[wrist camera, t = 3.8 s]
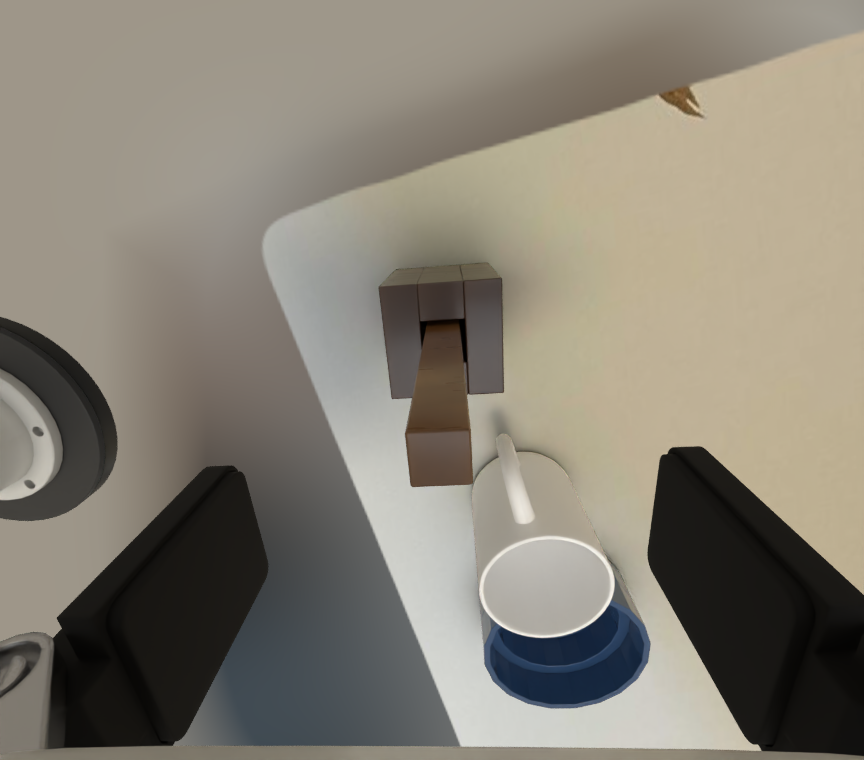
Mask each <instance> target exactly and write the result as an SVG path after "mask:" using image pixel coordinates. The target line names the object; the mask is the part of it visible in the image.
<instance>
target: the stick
mask: <svg viewBox="0 0 864 760" xmlns="http://www.w3.org/2000/svg"><path fill="white" fill-rule="evenodd" d="M405 438H406V447H407V456H408V465H409V474H410V483H411V486H412V487H423V486H447V485H470V484H472V483H473V468H472V447H471V428H470V419H469V409H468V400H467V391H466V381H465V372H464V363H463V353H462V344H461V334H460V325H459V319H452V320H437V321H427V326H426V331H425V336H424V341H423V346H422V351H421V356H420V361H419V366H418V371H417V376H416V381H415V386H414V391H413V396H412V401H411V406H410V411H409V416H408V421H407V426H406V431H405Z"/></svg>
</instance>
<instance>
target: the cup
mask: <svg viewBox="0 0 864 760" xmlns="http://www.w3.org/2000/svg"><path fill="white" fill-rule="evenodd" d="M496 446H497V451H498V456H499V457H498V458H496V459H494V460H493V461H491V462H490V463H489V464H487V465H486V466H485V467H484V468H483V469H482V471H481V472H480V473H479V475H478V476H477V478H476V480H475V483H474V486H473V490H472V514H473V526H474V538H475V550H476V563H477V575H478V587H479V596H480V600H481V603H482V605H483V607H484V609H485V611H486V612H487V613H488V615H489V616H490V617H491V618H492V619H493V620H494V621H495V622H496V623H497V624H499V625H500V626H502V627H503V628H505V629H507V630H509V631H511V632H514V633H517V634H520V635H523V636H528V637H536V638H550V637H558V636H563V635H567V634H570V633H573V632H576V631H578V630H581V629H583V628H585V627H586V626H588V625H590V624H591V623H592V622H594V621H595V620H596V619H597V618H599V617H600V616H601V615H602V613H603V612H604V611H605V610H606V608H607V607H608V605H609V603H610V601H611V599H612V596H613V592H614V586H615V581H614V574H613V571H612V568H611V566H610V564H609V562H608V559H607V557H606V555H605V553H604V551H603V549H602V547H601V544H600V542H599V540H598V538H597V536H596V534H595V532H594V530H593V527H592V525H591V523H590V521H589V519H588V517H587V515H586V512H585V510H584V508H583V506H582V504H581V502H580V500H579V497H578V495H577V493H576V491H575V489H574V487H573V485H572V483H571V481H570V479H569V477H568V475H567V474H566V472H565V471H564V470H563V469H562V467H561V466H560V465H558V464H557V463H556V462H555V461H553V460H552V459H550V458H548V457H546V456H544V455H541V454H538V453H533V452H516V451H515V448H514V445H513V442H512V440H511V438H510V436H508V435H507V434H500V435H498V437H497V438H496Z"/></svg>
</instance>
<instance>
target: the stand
mask: <svg viewBox="0 0 864 760" xmlns="http://www.w3.org/2000/svg"><path fill="white" fill-rule="evenodd" d="M379 295H380V303H381V312H382V320H383V329H384V337H385V346H386V354H387V362H388V371H389V379H390V388H391V396H392V399H402V398H412V396H413V391H414V386H415V381H416V376H417V371H418V366H419V361H420V356H421V351H422V346H423V341H424V336H425V331H426V326H427V321H437V320H452V319H462V327H460V334H461V344H462V353H463V363H464V372H465V381H466V391H467V395H468V393H469V394H470V395H471V394H489V393H503V392H504V367H503V306H502V278H501V277H500V276H499V275H498V274H497V272H496V271H495V270H494V269H493V268H492V267H491V266H490V265H489V263H476V264H463V265H460V266H459V265H449V266H435V267H425V268H424V267H421V268H408V269H396V270H395V271H394V272H393V273H392V274H391V275H390V276H389V277H388V278H387V279H386V280H385V281H384V282H383V283H382V284H381V285H380V286H379Z"/></svg>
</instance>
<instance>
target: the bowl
mask: <svg viewBox="0 0 864 760" xmlns="http://www.w3.org/2000/svg"><path fill="white" fill-rule="evenodd" d="M608 562H609V564H610V566H611V568H612V571H613V574H614V581H615V586H614V592H613V596H612V599H611V601H610V603H609V605H608V607H607V608H606V610H605V611H604V612H603V613H602V615H601V616H600V617H599V618H597V619H596V620H595V621H594V622H592V623H591V624H590V625H588V626H586V627H585V628H583V629H581V630H578V631H576V632H573V633H570V634H567V635H563V636H558V637H550V638H536V637H528V636H523V635H520V634H517V633H514V632H511V631H509V630H507V629H505V628H503V627H502V626H500V625H499V624H497V623H496V622H495V621H494V620H493V619H492V618H491V617H490V616H489V615H488V613H487V612H486V611H485V609H484V607H483V605H482V603H481V600H480V614H481V626H482V639H483V651H484V663H485V666H486V668H487V670H488V672H489V674H490V676H491V678H492V680H493V681H494V682H495V683H496V684H497V685H498V686H499V687H500V688H501V689H502V690H504V691H505V692H506V693H507V694H508V695H510V696H512V697H514V698H517V699H519V700H521V701H523V702H525V703H527V704H531V705H536V706H541V707H546V708H578V707H583V706H588V705H592V704H597V703H600V702H603V701H605V700H607V699H609V698H611V697H613V696H615V695H618V694H620V693H621V692H622V691H624V690H625V689H626V688H627V687H628V686H630V685H631V684H632V683H633V682H635V681H636V680H637V679H638V677H639V676H640V674H641V673H642V671H643V669H644V668H645V666H646V664H647V663H648V658H649V651H650V645H651V644H650V640H649V637H648V634H647V631H646V627H645V625H644V623H643V621H642V619H641V617H640V615H639V612H638V610H637V608H636V606H635V604H634V602H633V600H632V598H631V596H630V594H629V592H628V590H627V588H626V586H625V583H624V581H623V579H622V577H621V575H620V573H619V571H618V570H617V569H616V568H615V567H614V566H613V565H612V563H611V562H610V561H609V560H608ZM479 597H480V596H479Z"/></svg>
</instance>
